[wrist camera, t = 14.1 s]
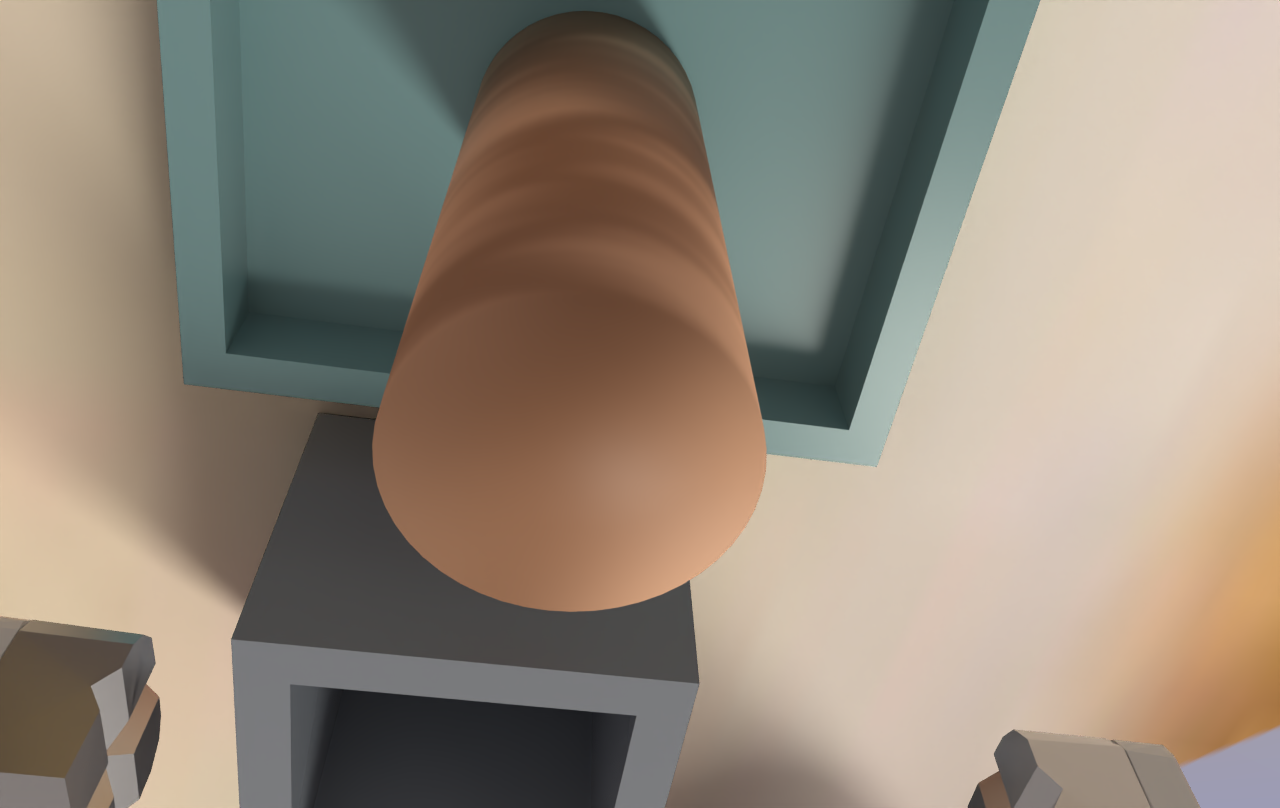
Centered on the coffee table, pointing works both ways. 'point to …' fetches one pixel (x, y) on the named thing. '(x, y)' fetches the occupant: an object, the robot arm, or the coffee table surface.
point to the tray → (434, 132)
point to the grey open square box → (439, 670)
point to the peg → (575, 338)
